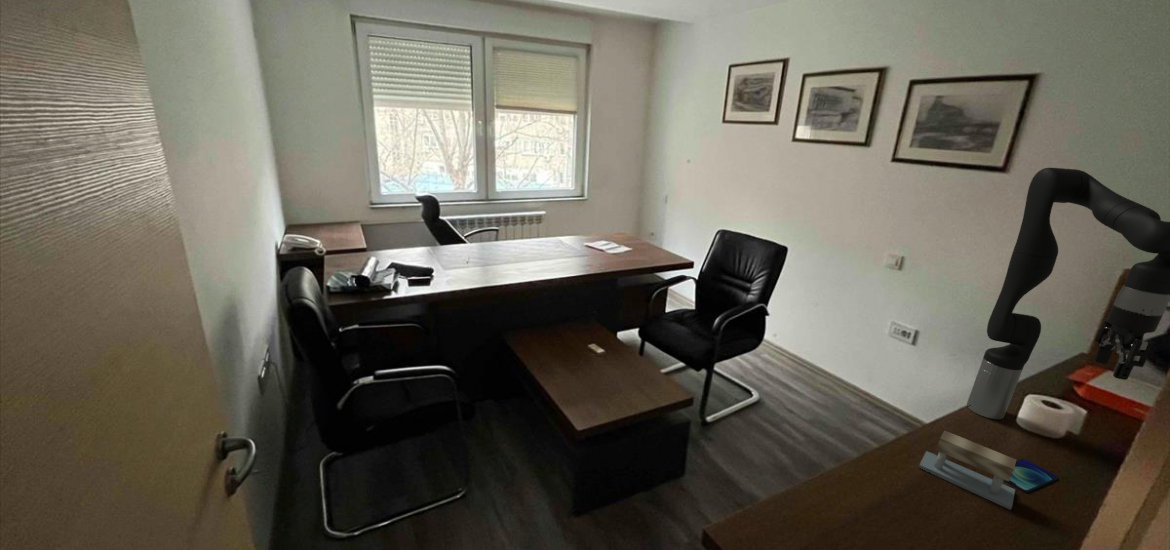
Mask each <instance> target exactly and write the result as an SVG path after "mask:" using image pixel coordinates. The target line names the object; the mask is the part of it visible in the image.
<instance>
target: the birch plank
mask: <svg viewBox="0 0 1170 550" xmlns="http://www.w3.org/2000/svg"><path fill="white" fill-rule="evenodd" d="M935 450H936V451H938V452H939V451H940V452H942V453H944V454H947V456H949V457H951V458H954V459H956V460H958V461H960V462H962V463H963V462H964V463H965V464H968V465H969V466H972V467H975V468H977V469H980V470H981V471H984V472H986V473H988V474H991V475H992V476H997V477H999V478H1002V479H1004V480H1006V481H1009V480H1010V478H1011V475H1012V473H1013V470H1014V467H1015V464H1016V461H1017V459H1016V458H1013V457H1011V456H1008V455H1006V454H1003V453H1001V452H999V451H997V450H993V449H991V448H989V447H986V446H984V445H981V444H979V443H977V442H974V441H971V440H969V439H967V438H965V437H963V436H959V435H957V434H954V433H952V432H949V431H947V430H945V429H944V431H943V432H942V434H941V436H940V438H939V440H938V443H937V447H936V449H935Z"/></svg>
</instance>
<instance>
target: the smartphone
mask: <svg viewBox="0 0 1170 550" xmlns="http://www.w3.org/2000/svg"><path fill="white" fill-rule="evenodd" d="M1058 478H1059V477H1058V476H1057V475H1056V474H1054V473H1052V472H1050V471H1048V470H1047V469H1044V468H1042V467H1041V466H1039V465H1037V464H1036V463H1033V462H1032V461H1030V460H1028V459H1025V458H1021V459H1019V460H1016V464H1015V467H1014V470H1013V473H1012V475H1011V478H1010V480H1009V481H1006V480H1004V481H1003V482H1005V483H1007V484H1008V485H1011V486H1012V487H1014V489H1017V490H1019V491H1021V492H1023V493H1025V494H1028V493H1031V492H1033V491H1035V490H1037V489H1040V488H1041V487H1044V486H1047V485H1049V484H1051V483H1053V482H1055V481H1058Z"/></svg>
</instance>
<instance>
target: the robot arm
mask: <svg viewBox="0 0 1170 550" xmlns="http://www.w3.org/2000/svg"><path fill="white" fill-rule="evenodd" d="M1054 203H1056V204H1057V203H1058V204H1069V203H1070V204H1074V205H1078V206H1081V207H1083V208H1084V207H1085V208H1087V209H1088V210H1090V211H1091V213H1092V215H1093V217H1094V218H1095V220H1097V221H1098V222H1099V223H1100V224H1102V225H1104V226H1106V227H1107V228H1109V229H1111V230H1113V231H1115V232H1117V233H1119V234H1121V235H1122V237H1123V238H1124V239H1125V240H1126V241H1127V242H1128V243H1130V245H1131V246H1132V247H1134V248H1135V249H1137V250H1140V251H1143V252H1146V253H1150V254H1156V256H1154V258H1152V259H1150V260H1148V261H1142V262H1140V261H1139V262H1137V263H1135V264H1133V265H1132V267H1131V268H1130V270H1129V272H1128V275H1127V276H1126V279H1125V281H1124V284H1123V285H1122V287H1121V289H1120V290H1119V292H1118V294H1117V295H1116V298H1115V300H1114V301H1113V304H1112V306H1111V309H1110V312H1109V313H1108V316H1107V318H1106V320H1104V321H1103V322H1102V325H1101V327H1100V329H1099V330H1098V333H1097V335H1096V336H1095V343H1098V344H1097V347H1098V349H1097V352H1096V355H1095V356H1094V359H1093V360H1094V361H1095V363H1098V364H1103V365H1105V364H1108V363H1109V361H1110V359H1111V357H1112V354H1113V352H1114V351H1113V350H1115V349H1116V354H1118V355H1119V362H1117V365H1116V368H1115V369H1114V372H1113V374H1112V376H1113V378H1115V379H1119V380H1126V381H1127V380H1128V378H1129V376H1130V374H1131V372H1132V371H1133V369H1134V367H1139V368H1144V366H1145V363H1146V361H1147V358H1148V356H1149V354H1150V352H1151V350H1152V348H1153V342H1151V341H1147V340H1144V335H1145V334H1149V333H1150V334H1151V333H1155V332H1156V330H1157V329H1158V326H1159V324H1160V322H1161V321H1162V318H1163V316H1164V314H1165V312H1166V309H1167V308H1168V306H1169V303H1170V221H1164V220H1161V216H1160V214H1159V213H1158V212H1157V211H1155V210H1153V209H1151V208H1149V207H1147V206H1145V205H1143V204H1140V203H1138V202H1136V201H1133V200H1131V199H1129V198H1127V197H1125V196H1123V195H1121V194H1119V193H1117V192H1116V191H1114V190H1112V189H1110V187H1107V186H1106V185H1104V184H1103V183H1102V182H1100V181H1099V180H1097V179H1096V178H1095V177H1094V176H1092V175H1091V174H1089V173H1087V172H1086V171H1084V170H1080V169H1076V168H1075V169H1074V168H1061V167H1045V168H1042V169H1040V170H1038V171H1037V172H1036V173H1035V174H1034V176H1033V177H1032V178H1031V181H1030V183H1029V186H1028V190H1027V194H1026V200H1025V205H1024V212H1023V215H1022V220H1021V221H1022V222H1021V224H1020V228H1019V232H1018V234H1017V235H1018V236H1017V239H1016V242H1015V245H1014V247H1013V250H1012V252H1011V253H1012V254H1011V256H1010V259H1009V263H1008V267H1007V271H1006V274H1005V277H1004V281H1003V284H1002V286H1001V290H1000V293H999V295H998V297H997V299H996V302H995V305H994V307H993V309H992V311H991V315H990V317H989V319H988V322H987V327H986V334H987V337H988V339H990V340H991V341H994V342H995V341H996V342H1000V343H1005V344H1007V345H1004V346H999V347H997V346H996V347H991V348H987V349H986V350H985V352H984V353H983V354H984V355H983V356H982V357H983V358H982V360H981V363H980V366H979V369H978V372H977V374H976V376H975V379H974V383H973V386H972V388H971V391H970V394H969V396H968V399H967V402H966V407H967V406H969V405H971V406H969V407H967V408H968V409H969V410H970V411H971V412H973V413H975V414H977V415H979V416H982V417H985V418H987V419H992V420H1002V419H1004V417H1005V415H1006V412H1007V410H1008V409H1009V406H1010V402H1011V400H1012V398H1013V395H1014V393H1015V390H1016V388H1017V385H1018V382H1019V380H1020V377H1021V375H1022V373H1023V370H1024V367H1025V365H1026V364H1027V362H1028V361H1029V359H1030V357H1031V354H1032V353H1033V350H1034V348H1035V347H1036V344H1037V342H1038V340H1039V339H1040V338H1039V337H1040V336H1041V333H1042V324H1041V321H1040V319H1039V318H1038V317H1036V316H1034V315H1029V314H1022V313H1018V312H1017V313H1016V312H1014V310H1015V308H1016V306H1017V304H1018V303H1019V302H1020V300H1021V299H1022V298H1023V297H1024V296H1025V295H1027V294H1028V293H1029V292H1031V291H1032V290H1033V289H1035V288H1036V287H1037V286H1039V285H1040V284H1042V283H1043V282H1044V281H1046V280H1047V279H1048V278H1049V277H1050V276H1051V275H1052V273H1053V270H1054V268H1055V265H1056V261H1057V258H1058V256H1059V255H1058V254H1059V246H1058V241H1057V239H1056V236H1055V234H1054V232H1053V229H1052V225H1051V215H1052V209H1053V206H1054ZM1138 357H1139V358H1138Z"/></svg>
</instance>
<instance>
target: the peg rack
mask: <svg viewBox="0 0 1170 550" xmlns="http://www.w3.org/2000/svg"><path fill="white" fill-rule="evenodd" d="M947 456H948V455H947V454H944V453H942V452H940V451H938V454H937V455H936V454H935V453H932V452H930V451H927V450H925V453H924V455H923V456H922V459H921V461H920V462H919V466H918V468H919V469H920V468H921V469H920V470H922V469H923V471H924V470H925V472H927V473H929V472H930V473H929V474H932V475H933V476H936V477H938V478H940V479H943V480H944V481H946V482H948V483H951V484H952V485H955V486H957V487H960V488H962V489H964V490H967V491H969V492H970V493H973V494H975V495H977V496H979V497H982V498H984V499H986V500H987V501H991V502H992V503H995V504H997V505H998V506H1001V507H1002V508H1006V509H1008V510H1010V511H1012V508H1013V504H1014V498H1015V492H1016V488H1012V487H1010V486H1008V485H1006V484H1004V482H1005V481H1004V479H1002V478H999V477H997V476H995V475H993V476H994V477H993V478H990V477H988V476H986V475H983V474H980V473H978V472H976V471H973V470H972V469H969V468H967V467H964V466H962V465H960V464H957V463H956V462H953V461H950V460H949V459H947Z"/></svg>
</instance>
